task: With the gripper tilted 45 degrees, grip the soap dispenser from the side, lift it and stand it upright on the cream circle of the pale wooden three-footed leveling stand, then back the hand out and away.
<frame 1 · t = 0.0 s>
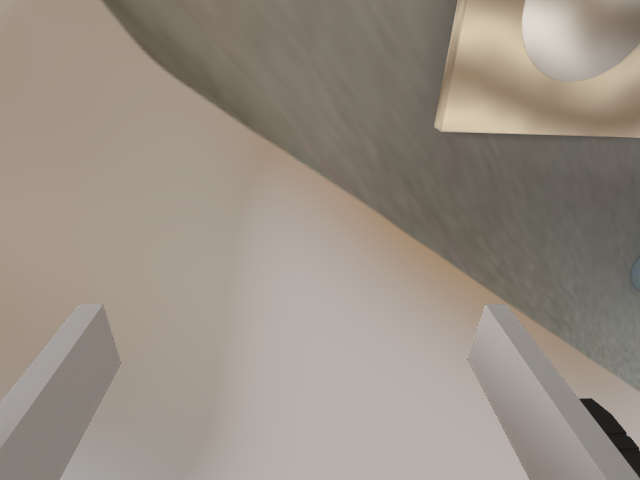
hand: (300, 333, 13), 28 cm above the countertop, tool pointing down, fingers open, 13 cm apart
leveling stand: (554, 8, 33), on the countertop
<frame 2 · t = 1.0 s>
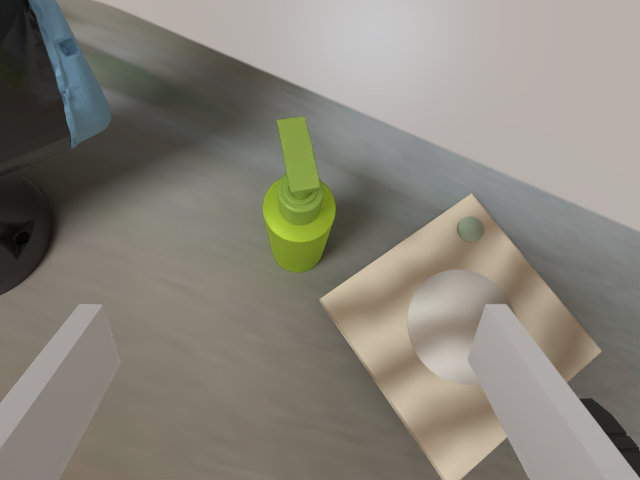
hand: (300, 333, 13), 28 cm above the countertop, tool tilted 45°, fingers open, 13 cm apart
soap dispenser: (296, 243, 43), on the countertop
leveling stand: (442, 327, 41), on the countertop
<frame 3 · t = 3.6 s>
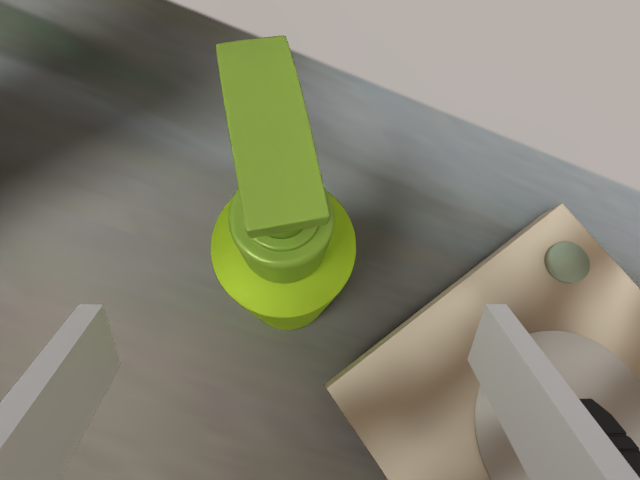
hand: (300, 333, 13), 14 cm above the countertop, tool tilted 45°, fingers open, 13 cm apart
soap dispenser: (287, 282, 28), on the countertop
leveling stand: (517, 412, 26), on the countertop
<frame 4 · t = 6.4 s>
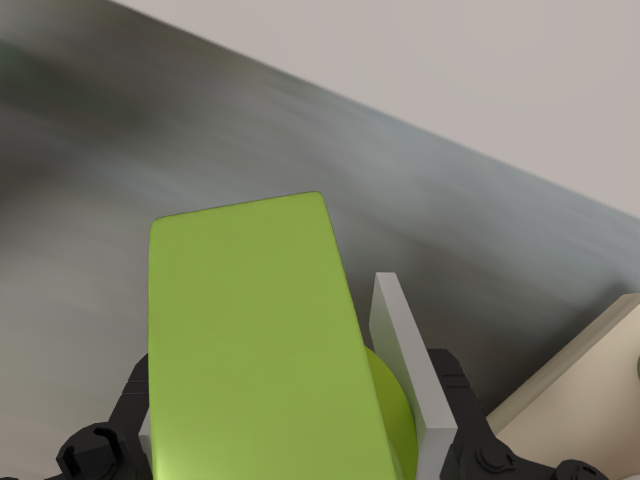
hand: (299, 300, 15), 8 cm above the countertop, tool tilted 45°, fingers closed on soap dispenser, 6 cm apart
soap dispenser: (297, 379, 22), on the countertop, touching gripper
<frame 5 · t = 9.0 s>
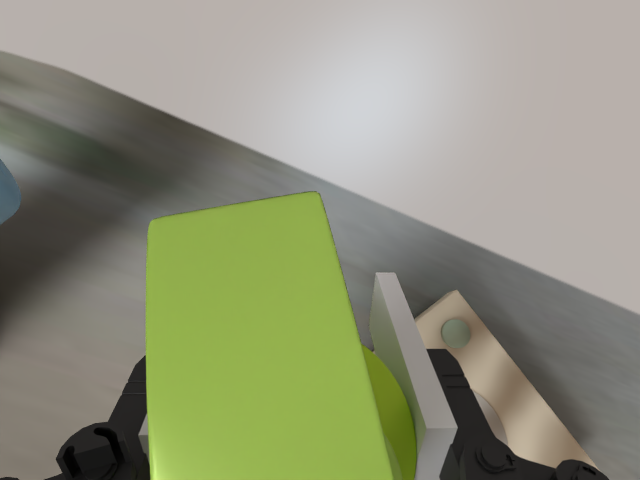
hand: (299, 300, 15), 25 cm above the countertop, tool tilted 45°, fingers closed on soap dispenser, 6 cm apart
soap dispenser: (296, 378, 22), point 17 cm above the countertop, touching gripper
leveling stand: (426, 434, 37), on the countertop
when the fingers open (15 cm above the countertop, at t = 12.0 s): soap dispenser drops 1 cm, resting on leveling stand.
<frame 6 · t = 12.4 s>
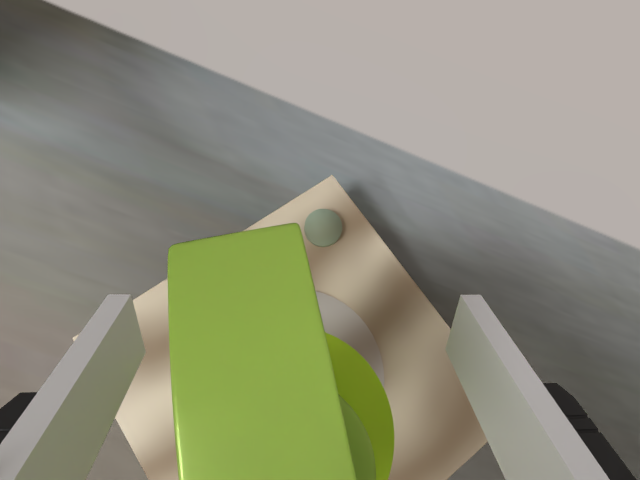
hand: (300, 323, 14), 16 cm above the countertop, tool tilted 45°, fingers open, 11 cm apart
soap dispenser: (291, 378, 23), point 5 cm above the countertop, touching leveling stand
leveling stand: (296, 371, 28), on the countertop
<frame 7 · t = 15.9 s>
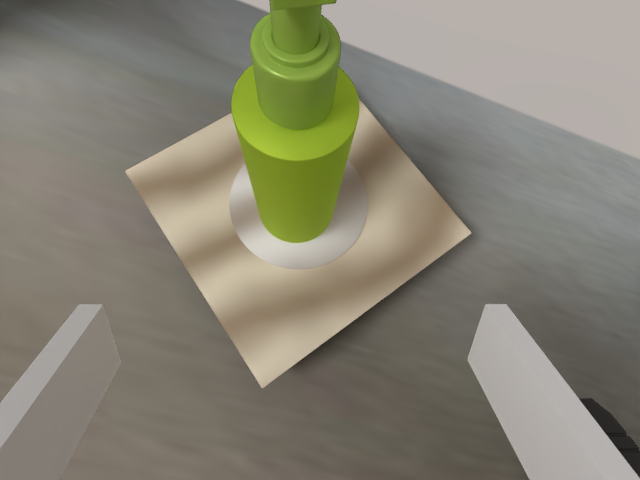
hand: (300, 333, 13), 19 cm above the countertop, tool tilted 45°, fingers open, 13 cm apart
soap dispenser: (295, 202, 30), point 5 cm above the countertop, touching leveling stand
leveling stand: (298, 222, 35), on the countertop
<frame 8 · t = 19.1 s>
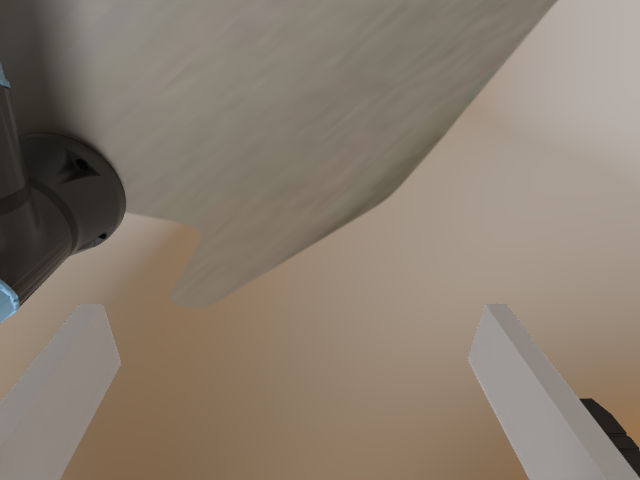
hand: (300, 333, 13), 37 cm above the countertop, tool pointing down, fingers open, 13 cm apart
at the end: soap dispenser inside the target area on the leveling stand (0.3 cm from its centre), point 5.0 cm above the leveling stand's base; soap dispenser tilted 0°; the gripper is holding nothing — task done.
